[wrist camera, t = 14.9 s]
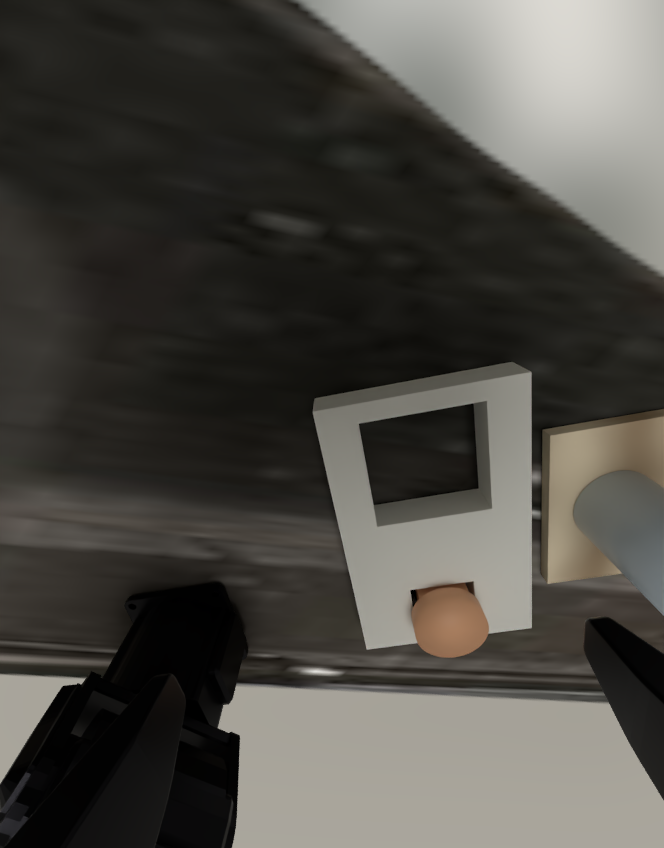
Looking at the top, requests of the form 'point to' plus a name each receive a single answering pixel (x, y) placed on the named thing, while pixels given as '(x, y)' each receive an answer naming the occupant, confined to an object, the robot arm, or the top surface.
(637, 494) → the cylinder
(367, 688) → the top surface
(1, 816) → the robot arm
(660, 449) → the pad
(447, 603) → the plunger
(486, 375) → the white tray
